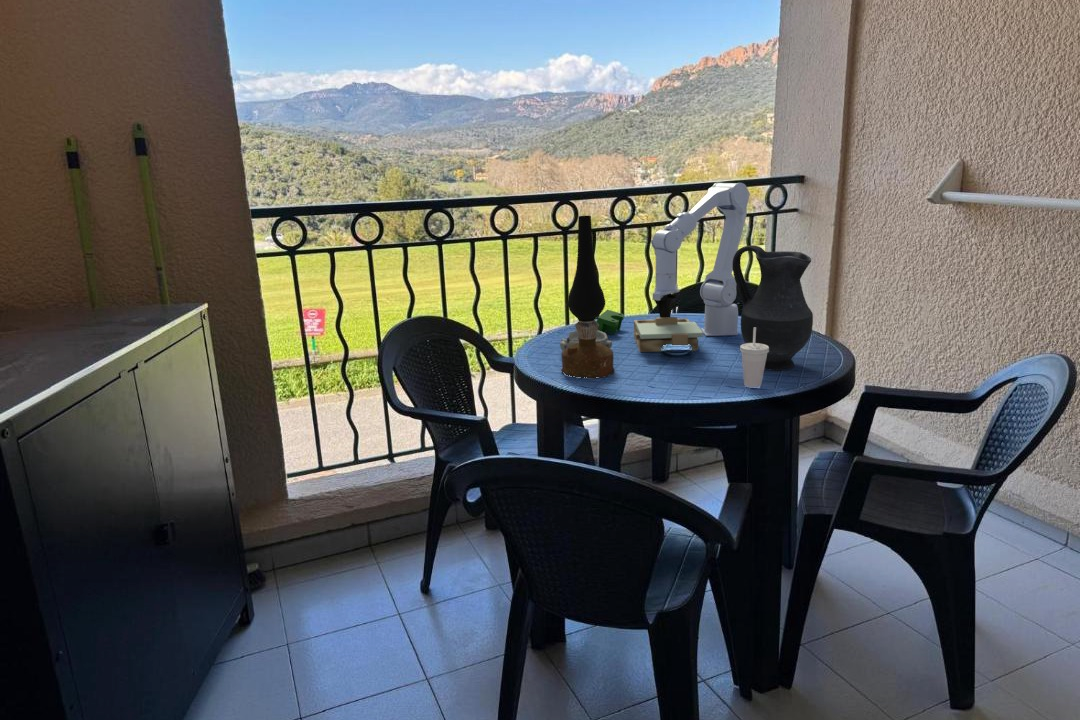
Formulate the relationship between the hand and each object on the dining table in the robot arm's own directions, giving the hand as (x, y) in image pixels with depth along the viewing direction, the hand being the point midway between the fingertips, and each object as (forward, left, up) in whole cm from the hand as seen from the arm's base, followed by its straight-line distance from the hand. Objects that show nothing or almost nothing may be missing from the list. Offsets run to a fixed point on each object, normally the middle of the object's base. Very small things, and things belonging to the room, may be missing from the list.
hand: (665, 320), depth 193 cm
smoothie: (-15, +39, -7) cm, 42 cm away
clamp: (+15, -16, -7) cm, 23 cm away
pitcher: (-23, +22, -7) cm, 32 cm away
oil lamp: (+23, +24, -7) cm, 34 cm away
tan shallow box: (0, -1, -7) cm, 7 cm away
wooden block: (+6, +6, -4) cm, 9 cm away
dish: (+23, +6, -7) cm, 25 cm away
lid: (0, +8, -3) cm, 8 cm away
